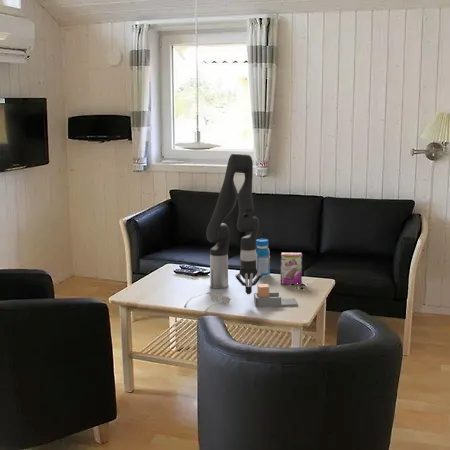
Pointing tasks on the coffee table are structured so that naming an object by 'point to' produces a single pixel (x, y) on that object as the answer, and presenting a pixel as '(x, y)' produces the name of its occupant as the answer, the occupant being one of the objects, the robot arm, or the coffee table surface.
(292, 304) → the chute
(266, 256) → the beverage bottle
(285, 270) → the candy bar box
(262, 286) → the block
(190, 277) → the coffee table surface
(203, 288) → the coffee table surface
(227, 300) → the eyeglasses
